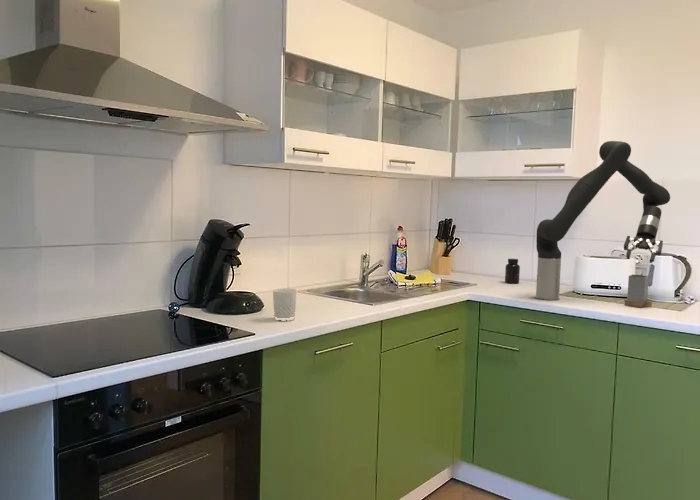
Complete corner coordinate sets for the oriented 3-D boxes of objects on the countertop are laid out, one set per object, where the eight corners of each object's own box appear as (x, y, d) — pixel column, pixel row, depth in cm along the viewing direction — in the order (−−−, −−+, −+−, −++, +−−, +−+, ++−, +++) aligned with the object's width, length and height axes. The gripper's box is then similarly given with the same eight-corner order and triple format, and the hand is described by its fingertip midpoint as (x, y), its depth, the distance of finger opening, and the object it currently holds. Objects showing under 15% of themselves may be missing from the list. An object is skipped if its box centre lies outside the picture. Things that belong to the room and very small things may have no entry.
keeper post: (640, 308, 229) (642, 283, 228) (624, 305, 235) (625, 280, 234) (651, 306, 233) (653, 282, 232) (635, 303, 239) (636, 279, 238)
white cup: (280, 323, 194) (280, 293, 193) (268, 318, 201) (268, 289, 200) (300, 320, 199) (300, 291, 198) (288, 316, 205) (289, 287, 204)
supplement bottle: (519, 284, 287) (520, 259, 285) (505, 283, 288) (506, 259, 287) (518, 282, 293) (519, 258, 292) (504, 281, 295) (505, 257, 294)
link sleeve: (627, 301, 233) (628, 276, 232) (630, 299, 238) (632, 274, 237) (643, 302, 230) (645, 277, 229) (647, 300, 234) (648, 275, 233)
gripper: (629, 221, 251) (620, 252, 245) (666, 225, 243) (658, 258, 237) (630, 230, 257) (621, 261, 250) (666, 235, 249) (658, 267, 243)
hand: (639, 260), depth 244 cm, fingers open, 8 cm apart
